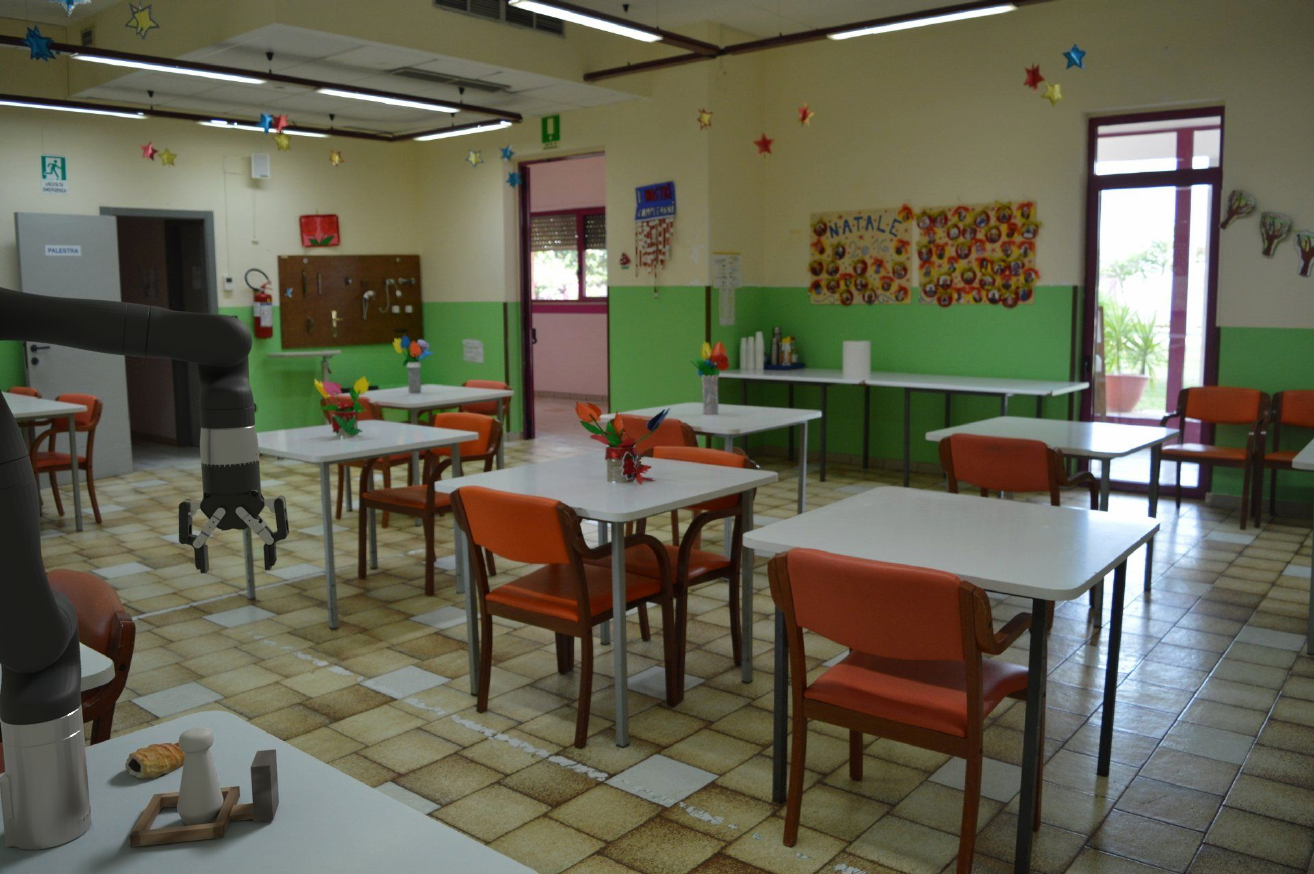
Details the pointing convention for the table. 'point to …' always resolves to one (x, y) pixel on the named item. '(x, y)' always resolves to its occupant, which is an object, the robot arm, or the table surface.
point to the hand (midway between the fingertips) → (237, 570)
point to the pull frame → (259, 810)
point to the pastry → (155, 760)
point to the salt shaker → (198, 779)
